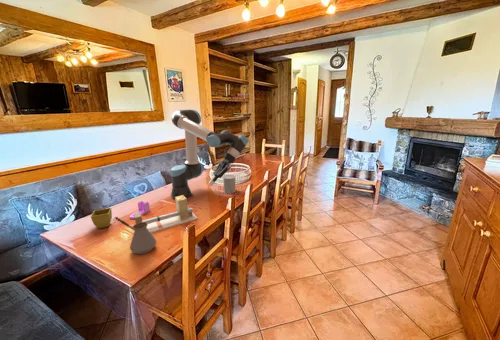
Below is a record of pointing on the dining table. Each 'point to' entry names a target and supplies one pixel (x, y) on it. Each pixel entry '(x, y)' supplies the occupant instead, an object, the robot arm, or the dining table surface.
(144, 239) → the coffee pot
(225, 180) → the gray cylinder
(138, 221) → the rod gauge
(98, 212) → the flower pot
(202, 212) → the dining table surface
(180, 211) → the tan rectangular block
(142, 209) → the bracket
